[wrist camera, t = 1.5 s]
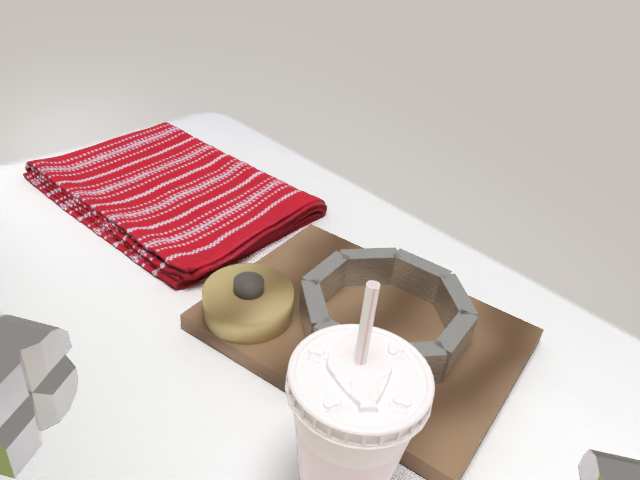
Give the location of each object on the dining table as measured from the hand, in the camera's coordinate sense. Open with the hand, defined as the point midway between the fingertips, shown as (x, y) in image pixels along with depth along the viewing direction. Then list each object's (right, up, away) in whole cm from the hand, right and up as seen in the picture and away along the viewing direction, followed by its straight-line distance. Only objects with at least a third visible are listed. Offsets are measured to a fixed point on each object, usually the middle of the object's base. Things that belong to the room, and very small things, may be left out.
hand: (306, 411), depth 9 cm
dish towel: (-13, +6, +46) cm, 48 cm away
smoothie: (+1, -11, +22) cm, 24 cm away
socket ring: (+4, -3, +31) cm, 32 cm away
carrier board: (+3, -4, +32) cm, 33 cm away
